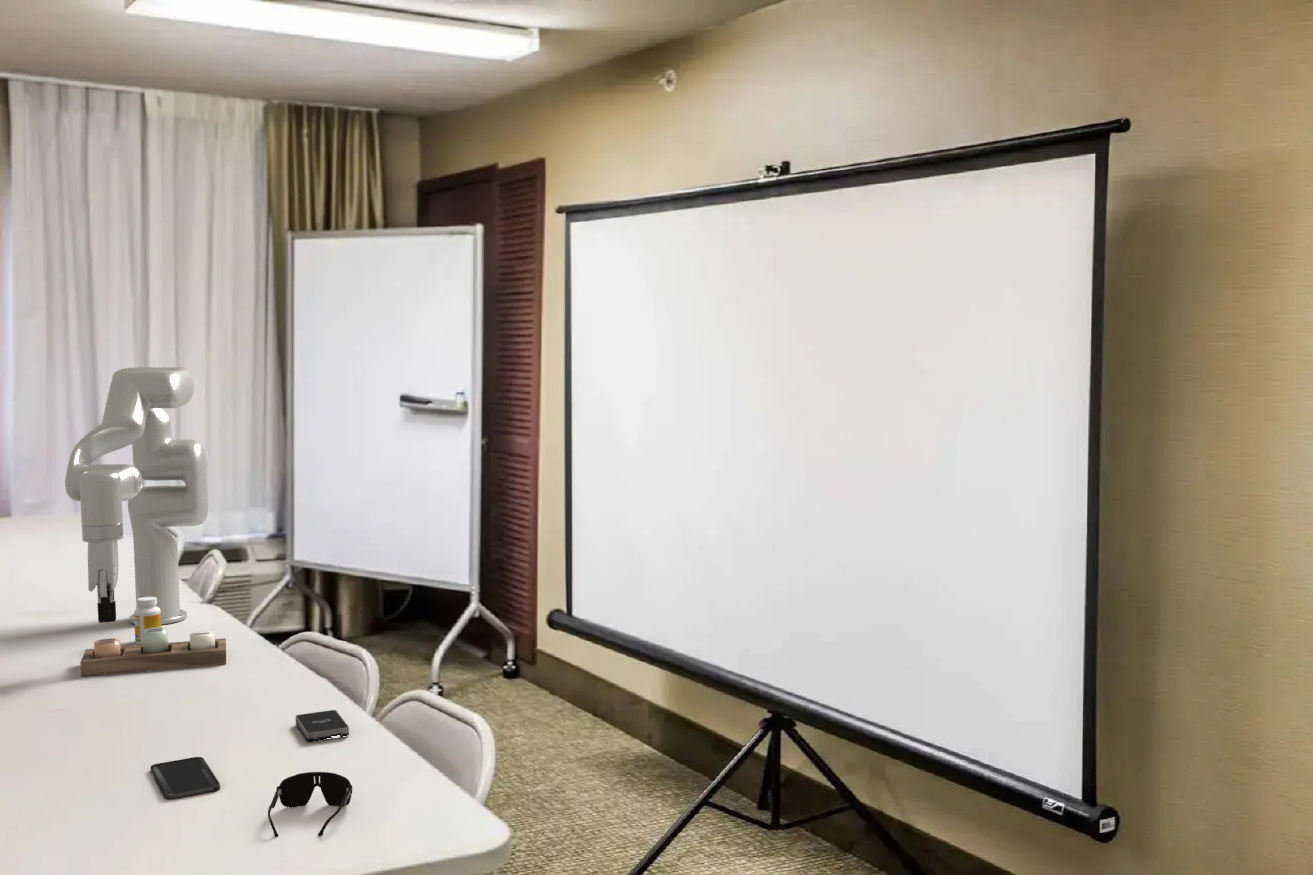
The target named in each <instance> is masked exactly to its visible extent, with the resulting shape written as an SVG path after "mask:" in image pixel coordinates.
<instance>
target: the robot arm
mask: <svg viewBox="0 0 1313 875" xmlns="http://www.w3.org/2000/svg"><path fill="white" fill-rule="evenodd" d="M194 390H195V383H194V378H193V375H192V373H191V372H190V371H189V370H188V369H187V368H185V367H178V366H177V367H171V366H169V367H167V366H165V367H164V366H163V367H153V366H152V367H151V366H149V367H148V366H147V367H143V366H142V367H127V368H126V367H125V368H121V369H118V370H116V371H115V372H114V373H113V374H112V376H111V381H110V386H109V389H108V395H107V399H106V403H105V408H104V412H103V415H102V421H101V422H100V424H99V425H98V426H96V427H94V428H93V429H92V430H90V431H89V432H88V433H87V434H85V436H83V437H82V438H81V439H80V440H79V441H78V442H77V443H76V445H75V446H74V447H73V449H72V451H71V453H70V456H69V460H68V464H67V467H66V472H65V480H64V486H65V487H64V488H65V493H66V494H67V496H68V497H69V498H70V499H71V500H73V501H75V502H76V501H77V502H80V517H81V518H80V519H81V520H80V522H81V538H82V539H81V540H82V542H83V543H87V570H88V571H87V577H88V578H87V580H88V584H87V586H88V587H87V588H88V591H89V592H93V591H95V590H97V604H96V605H97V618H98V619H97V620H98V621H97V622H98V623H100V624H102V623H103V624H104V623H114V622H116V620H117V609H116V608H117V604H116V602H117V601H116V600H115V589H116V586H117V584H118V580H119V549H118V548H119V546H118V541H119V540H120V541H121V540H122V539H124V522H123V521H124V520H123V519H124V518H123V503H122V502H124V501H125V502H126V501H127V510H128V516H129V520H130V524H131V525H130V526H131V531H132V539H133V542H132V543H133V554H134V555H133V556H134V557H133V559H134V560H133V561H134V582H135V585H134V586H135V588H134V589H135V606H136V607H135V610H136V609H137V608H139V606H137V599H138V598H142V597H156V598H157V604H156V607H159V608H160V610H161V625H166V624H173V623H177V622H181V621H183V620H185V619H187V617H188V612H187V611H186V610H184V609H181V606H180V601H181V600H180V574H179V552H178V549H179V548H178V544H177V543H178V542H177V541H176V539H175V537H174V536H173V535H172V534H171V532H170V531H169V530H168V529H167V528H170V527H194V526H199V525H203V524H204V523H205V522H206V521H207V517H208V515H209V514H208V513H209V494H208V492H209V491H208V471H207V470H208V469H207V466H208V464H207V456H206V452H205V449H204V446H203V444H202V443H201V442H200V441H198V440H195V439H173V438H172V425H171V418H170V415H169V414H168V412H167V411H166V410H165V409H175V408H176V409H177V408H180V407H182V406H185V405H187V404H188V403H189V402H190V400H192V397H193V394H194ZM131 445H132V448H131V449H132V463H133V464H132V465H130V464H127V463H121V464H120V463H117V464H113V463H112V464H110V463H109V464H108V463H107V464H105V463H104V464H103V463H102V464H101V463H100V464H92V463H94V461H95V460H98V459H99V458H101V457H103V456H104V455H108V454H109V453H112V452H116V451H118V450H120V449H122V448H125V447H127V446H128V447H129V446H131ZM143 481H182V482H184V484H185V485H150V486H143ZM129 623H130V624H134V625H135V622H134V613H133V614H131V615H130V616H129Z"/></svg>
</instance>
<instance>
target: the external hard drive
mask: <svg viewBox="0 0 1313 875" xmlns="http://www.w3.org/2000/svg"><path fill="white" fill-rule="evenodd" d="M295 725H296V727H297V728H298V729H299V732H301V735H302V736H303V737H304V739H305V740H306V742H307V743H309V742H311V743H314V742H313V741H318V740H324V739H327V738H332V737H331V736H337V735H340V737H343V736H347V735H348V736H349V734H350V729H349V725H348V724H347V722H346V720H344V718H343V717H342V716H341V715H340V713H339V712H338V711H337V710H335V709H331V710H322V711H316V712H315V711H314V712H308V713H303V714H302V713H301V714H296V715H295ZM324 741H325V740H324ZM318 742H319V741H318Z"/></svg>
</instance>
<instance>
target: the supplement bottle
mask: <svg viewBox="0 0 1313 875" xmlns="http://www.w3.org/2000/svg"><path fill="white" fill-rule="evenodd" d="M156 604H157V598H156V597H142V598H138V599H137V606H139V608H137V609H136V608H135V610H134V613H133V614H134V622H135V624H134V640H135V644H137V645H143V638H142V631H143V630H145V629H149V628H162V624H161V610H160V608H159V607H156Z"/></svg>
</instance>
